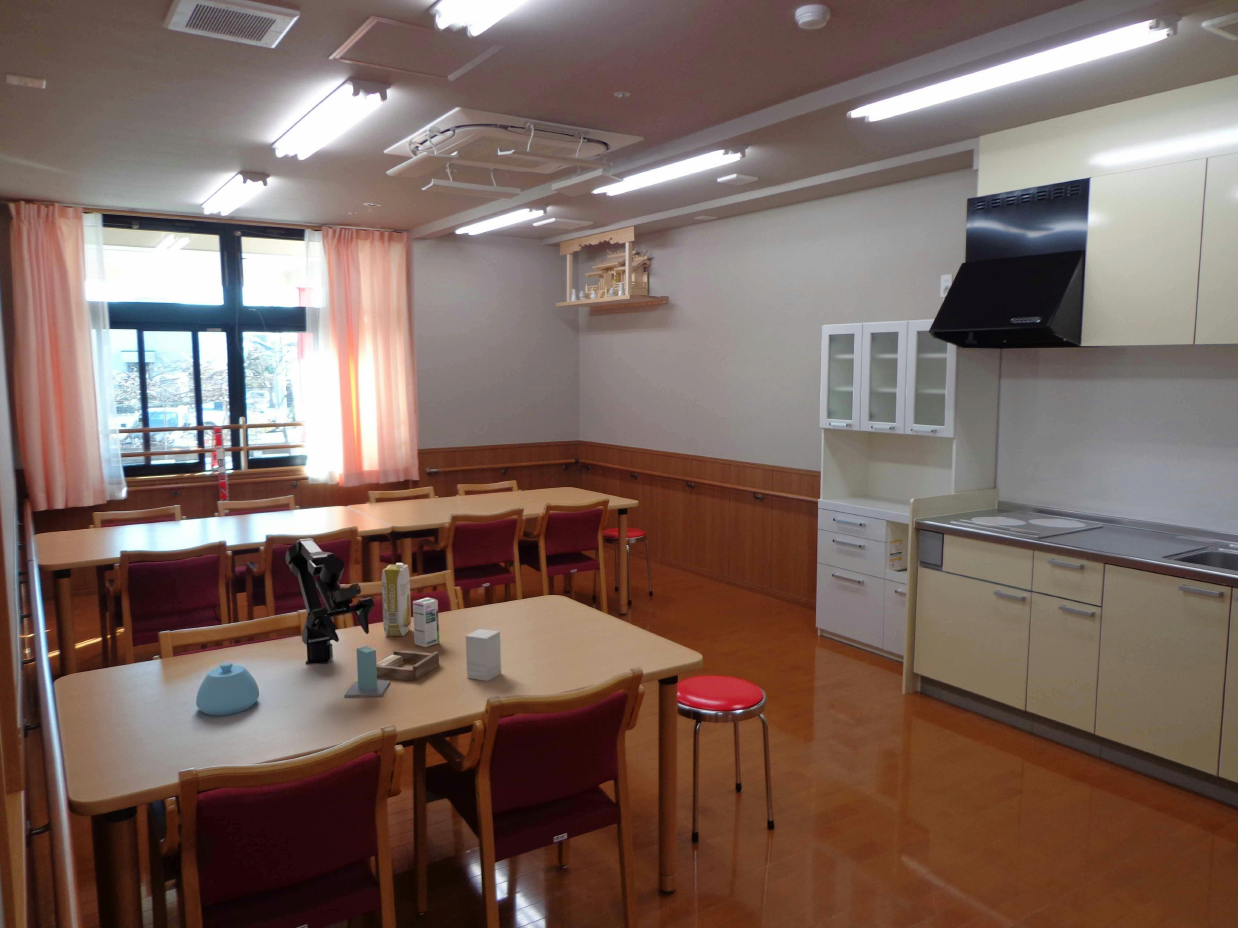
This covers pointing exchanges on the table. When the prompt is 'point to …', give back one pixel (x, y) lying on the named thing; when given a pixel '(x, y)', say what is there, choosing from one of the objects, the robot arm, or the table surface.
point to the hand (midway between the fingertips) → (353, 637)
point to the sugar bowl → (227, 690)
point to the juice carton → (396, 600)
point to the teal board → (366, 668)
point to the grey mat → (358, 692)
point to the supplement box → (483, 654)
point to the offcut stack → (391, 661)
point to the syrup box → (426, 622)
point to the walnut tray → (421, 668)
